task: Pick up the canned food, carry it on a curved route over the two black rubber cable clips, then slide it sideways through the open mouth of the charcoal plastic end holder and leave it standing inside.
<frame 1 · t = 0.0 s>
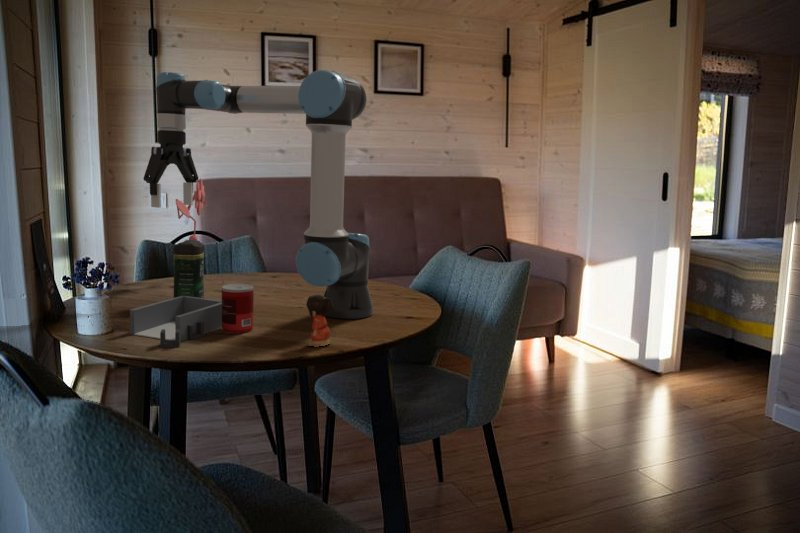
hand: (172, 206, 189), 28 cm above the table, fingers open, 13 cm apart
coffee jar: (189, 304, 192), on the table
end holder: (174, 331, 162), on the table
figurine: (319, 345, 157), on the table
clip a: (193, 337, 158), on the table
clip b: (170, 345, 151), on the table
pink flower: (201, 283, 224), on the table
canned food: (237, 330, 167), on the table
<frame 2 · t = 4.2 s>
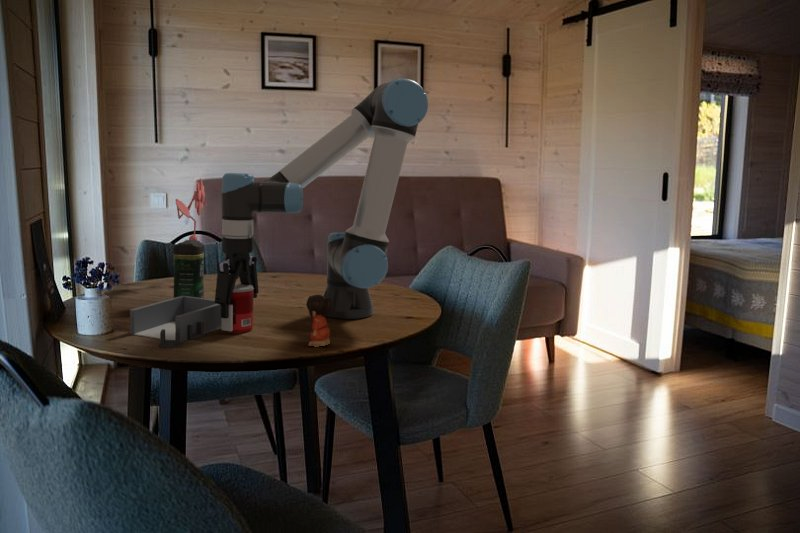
hand: (237, 326, 167), 1 cm above the table, fingers closed on canned food, 8 cm apart
canned food: (237, 330, 167), on the table, touching gripper
everything else where it was.
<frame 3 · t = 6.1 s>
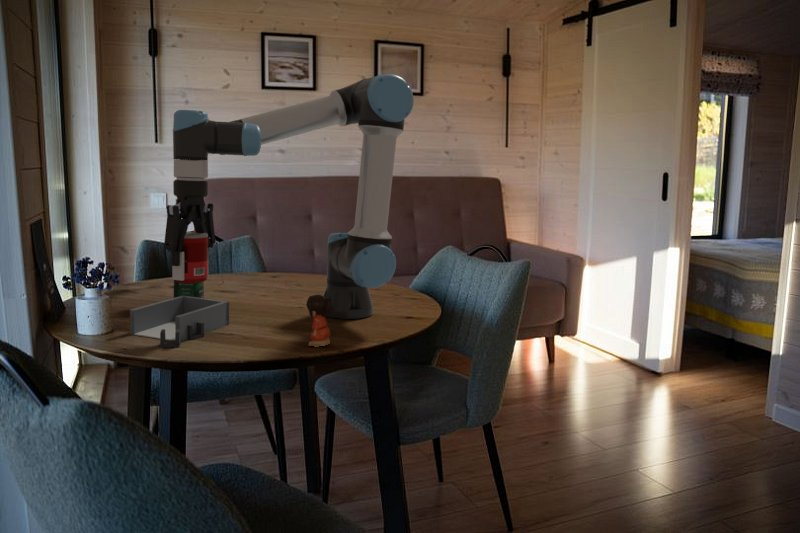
hand: (190, 276, 156), 15 cm above the table, fingers closed on canned food, 8 cm apart
canned food: (190, 280, 156), point 14 cm above the table, touching gripper
everything else where it was.
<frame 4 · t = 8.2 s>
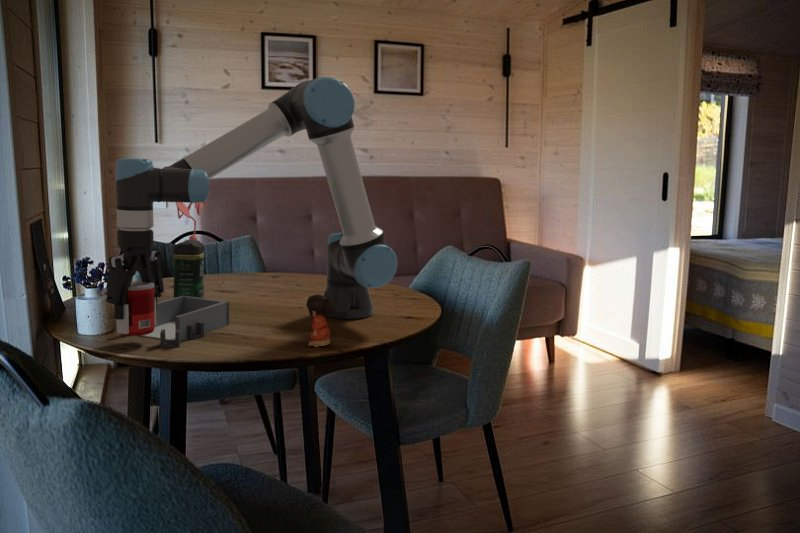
hand: (137, 328, 150), 4 cm above the table, fingers closed on canned food, 8 cm apart
canned food: (136, 332, 150), point 3 cm above the table, touching gripper
everything else where it was.
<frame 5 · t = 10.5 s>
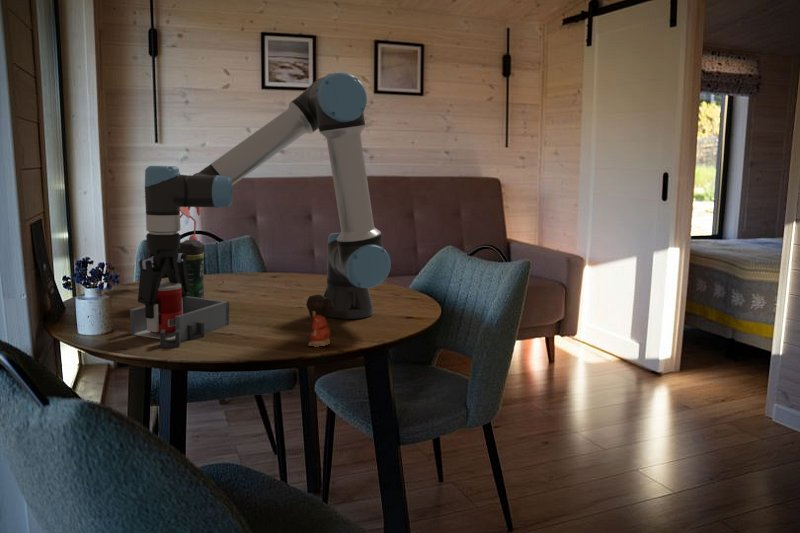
hand: (165, 326, 159), 2 cm above the table, fingers closed on canned food, 8 cm apart
canned food: (165, 330, 159), point 1 cm above the table, touching gripper
everything else where it was.
when the fingers open (2 cm above the table, at t = 12.5 s): canned food drops 1 cm, resting on end holder.
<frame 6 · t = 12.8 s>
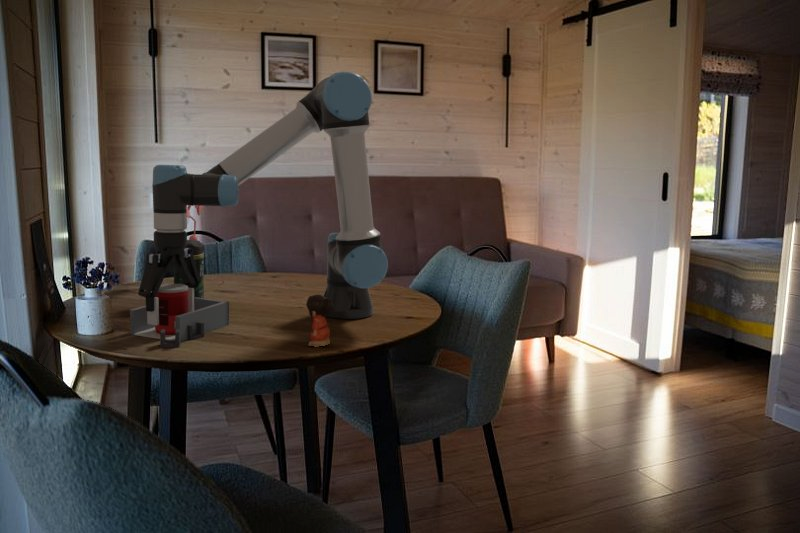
hand: (171, 318, 161), 3 cm above the table, fingers open, 12 cm apart
canned food: (171, 331, 162), resting on end holder
everything else where it was.
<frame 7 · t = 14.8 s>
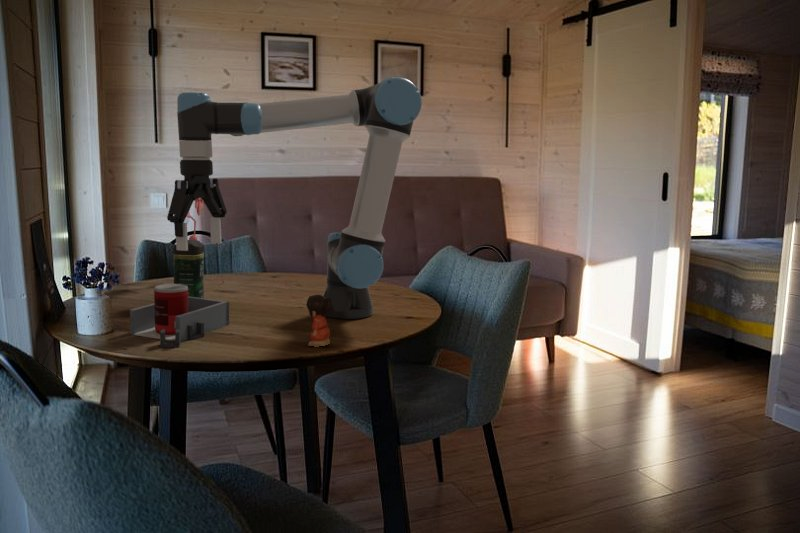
hand: (200, 246, 163), 21 cm above the table, fingers open, 13 cm apart
nothing on the table moved.
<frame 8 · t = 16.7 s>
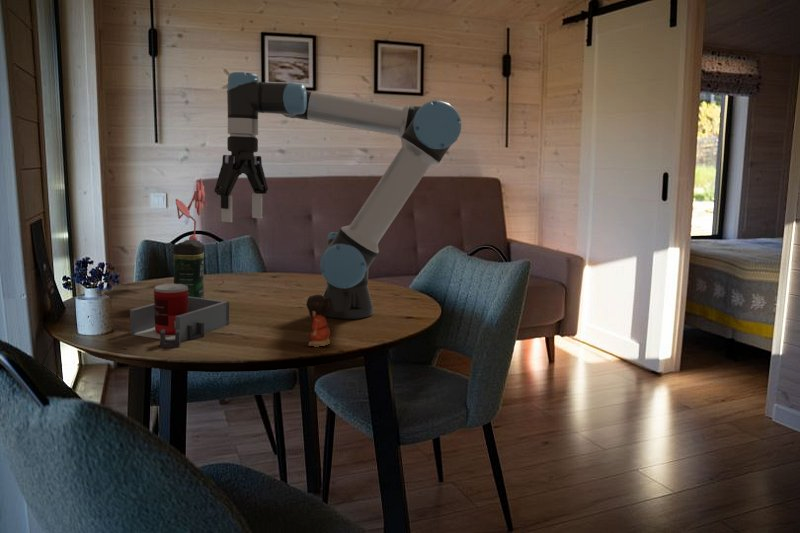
hand: (242, 220, 171), 27 cm above the table, fingers open, 13 cm apart
nothing on the table moved.
at the end: canned food inside the target area on the end holder (2.8 cm from its centre), point 0.1 cm above the end holder's base; canned food tilted 0°; the gripper is holding nothing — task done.
